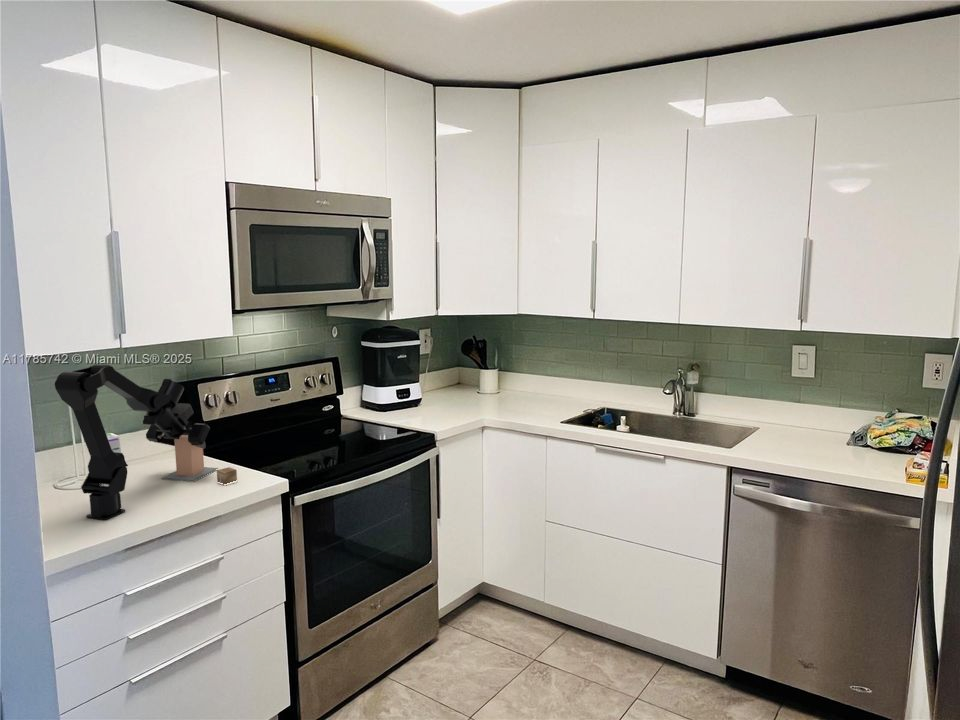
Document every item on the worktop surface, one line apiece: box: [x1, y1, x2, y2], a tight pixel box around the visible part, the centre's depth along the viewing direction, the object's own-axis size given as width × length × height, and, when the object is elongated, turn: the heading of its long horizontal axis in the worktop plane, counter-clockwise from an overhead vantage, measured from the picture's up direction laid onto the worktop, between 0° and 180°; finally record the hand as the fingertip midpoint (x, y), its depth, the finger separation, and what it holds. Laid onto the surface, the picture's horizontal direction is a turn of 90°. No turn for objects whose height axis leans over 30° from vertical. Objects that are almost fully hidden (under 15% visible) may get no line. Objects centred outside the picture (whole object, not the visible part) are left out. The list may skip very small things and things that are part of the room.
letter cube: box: [216, 466, 238, 484], centre depth 199 cm, size 4×4×4 cm
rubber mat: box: [161, 466, 219, 482], centre depth 207 cm, size 12×11×1 cm
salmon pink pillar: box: [174, 435, 205, 476], centre depth 206 cm, size 6×6×12 cm
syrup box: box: [100, 432, 122, 486], centre depth 198 cm, size 6×6×14 cm
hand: (191, 446), depth 207 cm, fingers open, 9 cm apart
